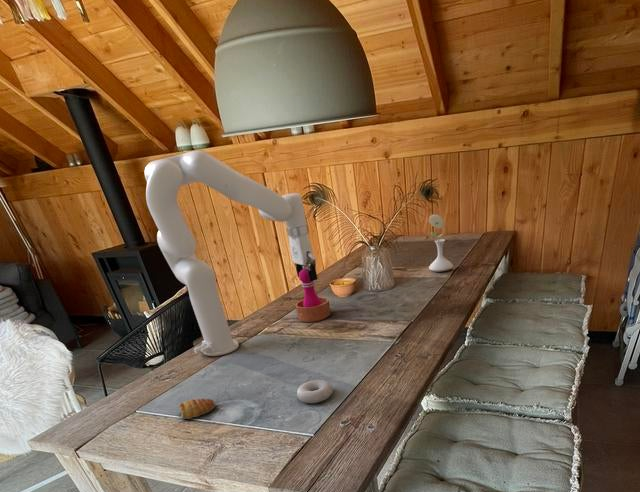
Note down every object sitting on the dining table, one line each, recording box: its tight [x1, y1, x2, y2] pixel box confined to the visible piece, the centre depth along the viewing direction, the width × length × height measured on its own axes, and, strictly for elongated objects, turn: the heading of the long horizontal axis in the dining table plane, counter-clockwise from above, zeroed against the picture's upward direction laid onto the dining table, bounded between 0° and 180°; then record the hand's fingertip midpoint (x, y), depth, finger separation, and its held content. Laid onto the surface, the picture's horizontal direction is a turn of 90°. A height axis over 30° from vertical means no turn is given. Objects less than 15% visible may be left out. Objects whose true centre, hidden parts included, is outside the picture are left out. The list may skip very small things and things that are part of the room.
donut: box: [296, 379, 333, 404], centre depth 129 cm, size 10×4×10 cm
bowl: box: [294, 296, 332, 323], centre depth 186 cm, size 13×13×6 cm
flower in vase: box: [428, 214, 454, 273], centre depth 218 cm, size 13×11×25 cm
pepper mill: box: [298, 264, 321, 308], centre depth 182 cm, size 7×7×20 cm
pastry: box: [178, 398, 216, 420], centre depth 129 cm, size 9×7×4 cm
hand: (307, 278), depth 179 cm, fingers open, 9 cm apart
